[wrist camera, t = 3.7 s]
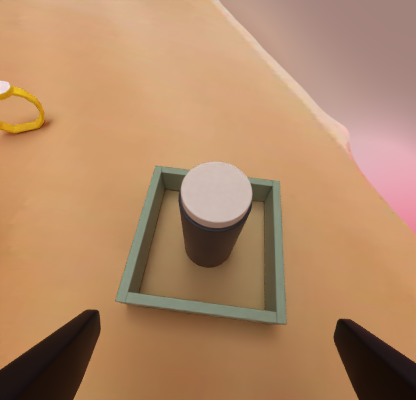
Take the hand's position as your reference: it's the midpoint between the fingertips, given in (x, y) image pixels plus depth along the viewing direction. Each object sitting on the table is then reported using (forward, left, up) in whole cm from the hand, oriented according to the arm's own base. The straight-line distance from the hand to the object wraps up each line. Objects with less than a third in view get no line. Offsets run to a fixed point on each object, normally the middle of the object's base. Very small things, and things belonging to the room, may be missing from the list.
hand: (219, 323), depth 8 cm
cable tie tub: (+1, -7, -13) cm, 15 cm away
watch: (+27, -20, -14) cm, 37 cm away
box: (+1, -7, -13) cm, 15 cm away
